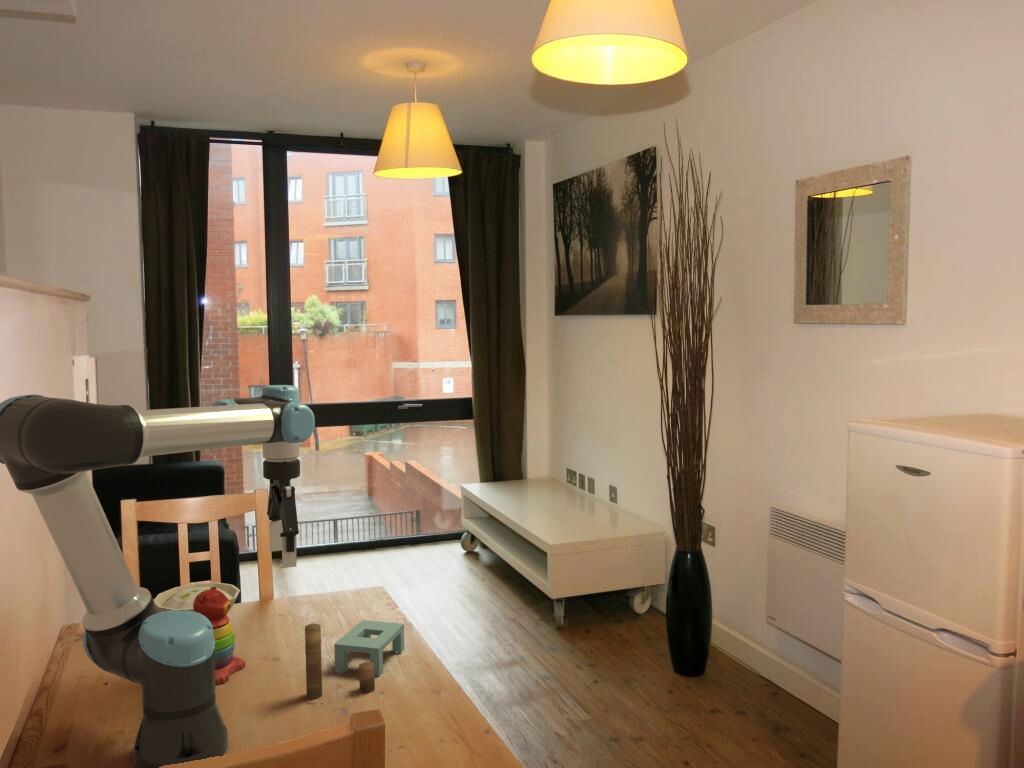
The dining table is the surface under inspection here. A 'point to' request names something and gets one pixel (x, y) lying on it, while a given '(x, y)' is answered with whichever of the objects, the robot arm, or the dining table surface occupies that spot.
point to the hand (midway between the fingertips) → (282, 558)
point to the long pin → (313, 661)
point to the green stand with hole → (369, 643)
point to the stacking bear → (219, 632)
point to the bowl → (191, 596)
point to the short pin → (367, 677)
